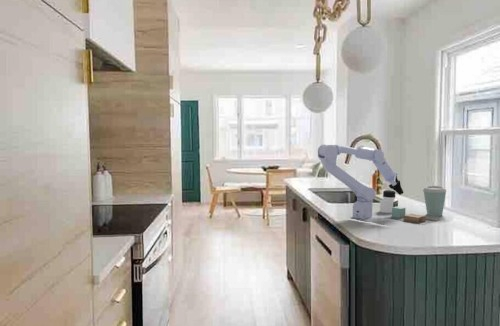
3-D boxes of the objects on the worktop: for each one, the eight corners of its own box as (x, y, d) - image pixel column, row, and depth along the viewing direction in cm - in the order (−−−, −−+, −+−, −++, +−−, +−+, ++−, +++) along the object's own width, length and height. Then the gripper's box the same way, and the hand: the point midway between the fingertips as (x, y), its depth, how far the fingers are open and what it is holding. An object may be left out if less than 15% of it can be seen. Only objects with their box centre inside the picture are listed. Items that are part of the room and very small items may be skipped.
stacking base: (423, 227, 184) (423, 219, 184) (383, 219, 199) (383, 212, 199) (438, 222, 193) (439, 215, 193) (399, 216, 208) (399, 209, 208)
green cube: (400, 218, 199) (400, 208, 199) (391, 216, 202) (392, 207, 202) (405, 216, 202) (405, 207, 202) (396, 215, 205) (397, 206, 205)
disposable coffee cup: (447, 219, 201) (448, 188, 200) (422, 217, 205) (423, 187, 204) (444, 215, 211) (445, 185, 210) (421, 214, 215) (422, 185, 214)
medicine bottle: (393, 215, 211) (393, 191, 211) (379, 213, 216) (380, 190, 215) (397, 213, 217) (398, 190, 216) (384, 211, 221) (384, 189, 221)
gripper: (395, 170, 196) (410, 192, 199) (390, 159, 210) (404, 180, 212) (382, 178, 199) (397, 199, 201) (377, 167, 212) (392, 187, 215)
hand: (400, 190), depth 207 cm, fingers open, 7 cm apart
